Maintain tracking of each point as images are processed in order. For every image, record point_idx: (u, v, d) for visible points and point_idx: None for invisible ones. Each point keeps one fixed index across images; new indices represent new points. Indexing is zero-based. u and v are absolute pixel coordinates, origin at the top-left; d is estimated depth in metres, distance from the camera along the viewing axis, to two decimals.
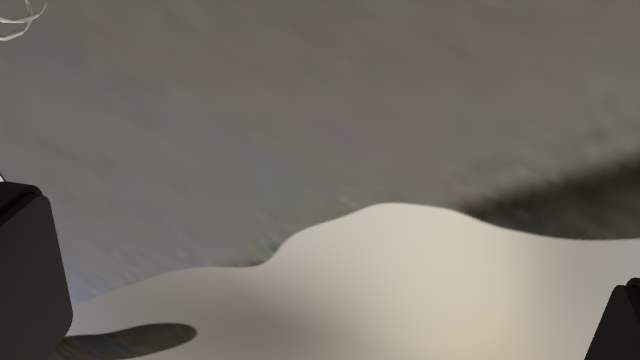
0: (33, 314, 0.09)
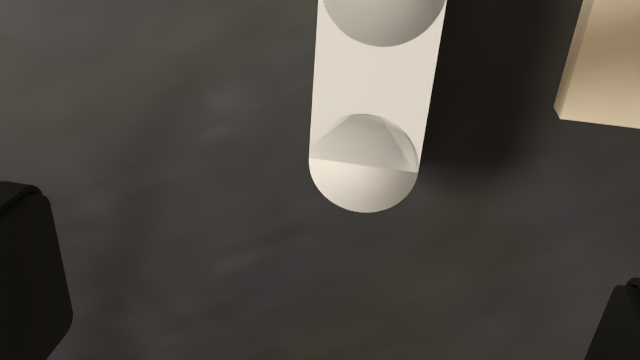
0: (33, 314, 0.09)
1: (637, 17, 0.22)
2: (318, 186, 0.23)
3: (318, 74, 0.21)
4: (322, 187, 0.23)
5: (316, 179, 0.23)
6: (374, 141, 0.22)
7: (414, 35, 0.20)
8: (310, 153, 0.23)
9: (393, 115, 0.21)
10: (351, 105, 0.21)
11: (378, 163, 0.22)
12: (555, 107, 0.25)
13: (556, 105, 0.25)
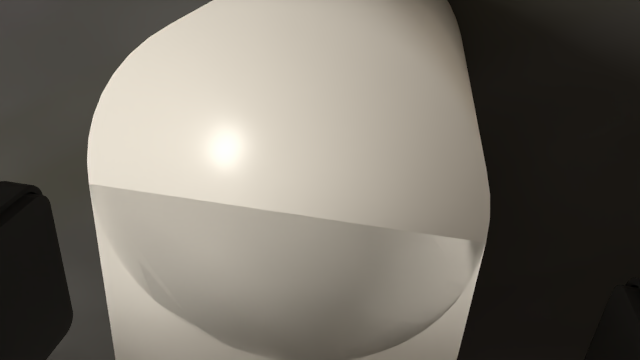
0: (33, 314, 0.09)
1: None
2: None
3: None
4: None
5: None
6: None
7: (379, 345, 0.07)
8: None
9: None
10: None
11: None
12: None
13: None
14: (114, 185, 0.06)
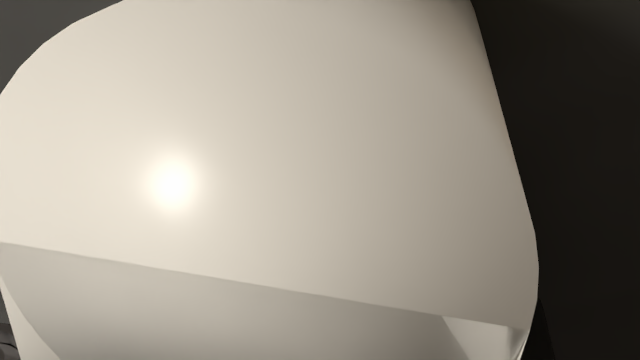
0: None
1: None
2: None
3: None
4: None
5: None
6: None
7: None
8: None
9: None
10: None
11: None
12: None
13: None
14: (20, 242, 0.05)
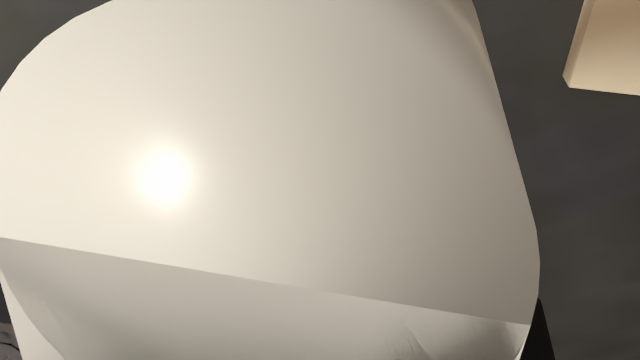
0: None
1: None
2: None
3: None
4: None
5: None
6: None
7: None
8: None
9: None
10: None
11: None
12: (564, 76, 0.25)
13: (565, 74, 0.25)
14: (20, 238, 0.05)
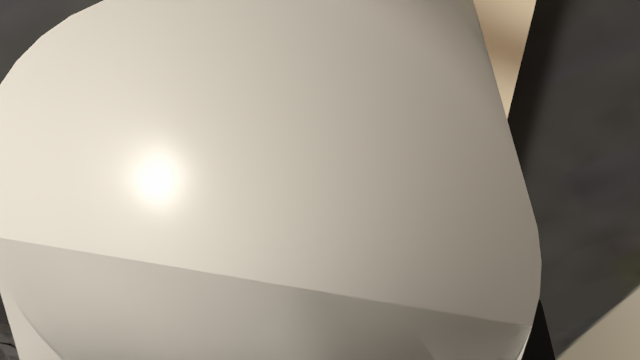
0: None
1: None
2: None
3: None
4: None
5: None
6: None
7: None
8: None
9: None
10: None
11: None
12: None
13: None
14: (18, 238, 0.05)
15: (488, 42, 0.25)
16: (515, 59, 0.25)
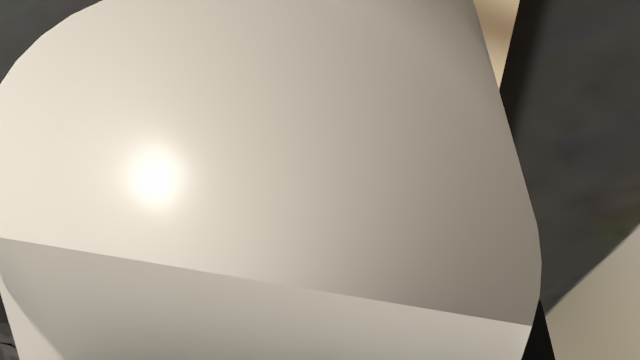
0: None
1: None
2: None
3: None
4: None
5: None
6: None
7: None
8: None
9: None
10: None
11: None
12: None
13: None
14: (17, 237, 0.05)
15: (482, 21, 0.29)
16: (505, 36, 0.29)
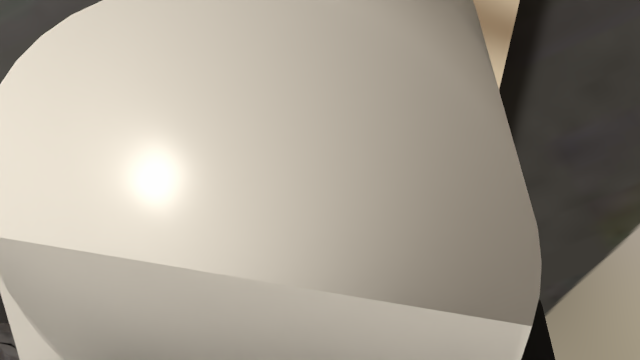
0: None
1: None
2: None
3: None
4: None
5: None
6: None
7: None
8: None
9: None
10: None
11: None
12: None
13: None
14: (17, 237, 0.05)
15: (482, 21, 0.29)
16: (505, 36, 0.29)
